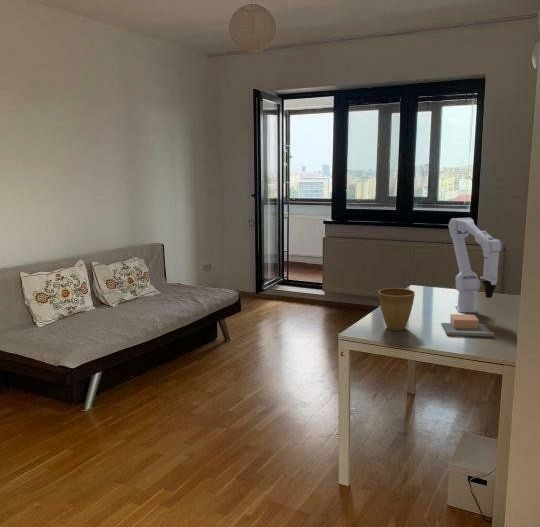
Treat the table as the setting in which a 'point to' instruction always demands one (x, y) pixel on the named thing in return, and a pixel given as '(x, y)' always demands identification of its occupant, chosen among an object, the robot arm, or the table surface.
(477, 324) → the terracotta block
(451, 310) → the table surface
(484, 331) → the mat
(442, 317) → the table surface
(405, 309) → the plant pot
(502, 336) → the table surface
